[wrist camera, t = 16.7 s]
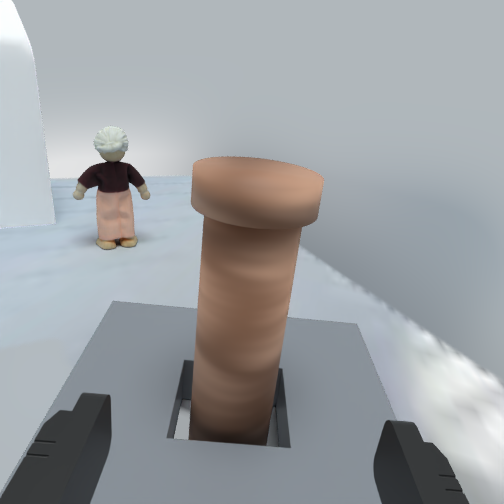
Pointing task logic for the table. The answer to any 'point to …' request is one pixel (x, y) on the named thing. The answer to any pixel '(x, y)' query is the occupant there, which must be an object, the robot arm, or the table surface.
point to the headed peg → (245, 289)
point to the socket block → (228, 454)
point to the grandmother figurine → (113, 189)
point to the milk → (21, 131)
